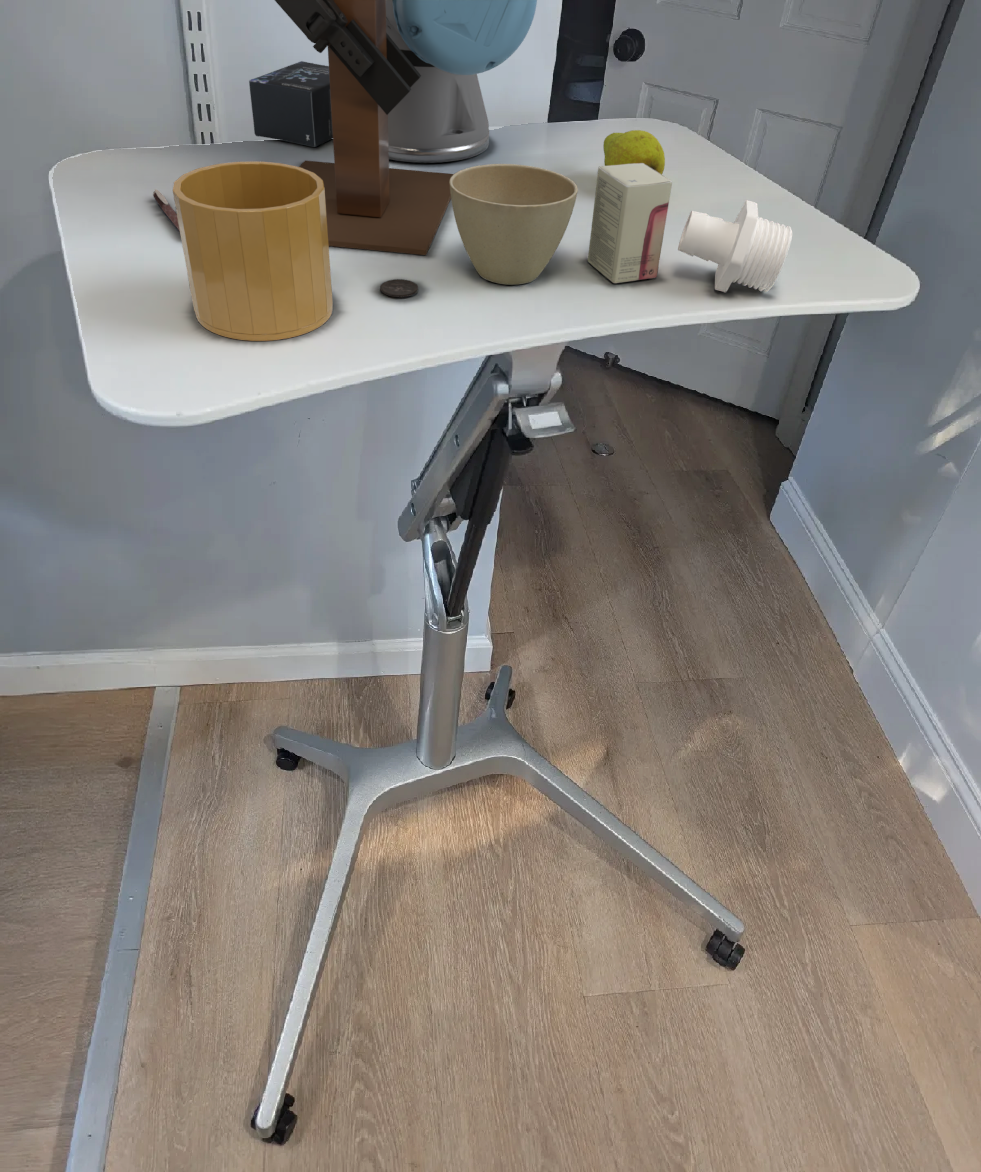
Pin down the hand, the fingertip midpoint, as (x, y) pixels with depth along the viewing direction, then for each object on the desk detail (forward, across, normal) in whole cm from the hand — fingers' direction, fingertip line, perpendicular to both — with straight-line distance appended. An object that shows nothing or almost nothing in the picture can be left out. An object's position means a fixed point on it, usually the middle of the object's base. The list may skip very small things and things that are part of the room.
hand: (404, 94), depth 75 cm
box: (-4, -29, -15) cm, 33 cm away
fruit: (+21, -10, +11) cm, 25 cm away
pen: (-7, +6, -21) cm, 23 cm away
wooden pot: (+3, +21, -12) cm, 24 cm away
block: (+4, 0, -10) cm, 10 cm away
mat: (+4, -2, -11) cm, 11 cm away
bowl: (+15, +10, 0) cm, 18 cm away
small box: (+21, +7, +7) cm, 24 cm away
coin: (+9, +15, -6) cm, 19 cm away
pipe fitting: (+22, +8, +13) cm, 26 cm away
